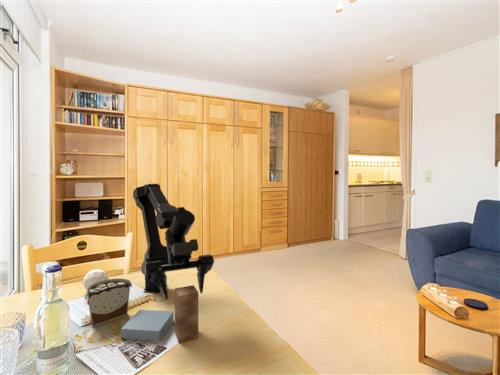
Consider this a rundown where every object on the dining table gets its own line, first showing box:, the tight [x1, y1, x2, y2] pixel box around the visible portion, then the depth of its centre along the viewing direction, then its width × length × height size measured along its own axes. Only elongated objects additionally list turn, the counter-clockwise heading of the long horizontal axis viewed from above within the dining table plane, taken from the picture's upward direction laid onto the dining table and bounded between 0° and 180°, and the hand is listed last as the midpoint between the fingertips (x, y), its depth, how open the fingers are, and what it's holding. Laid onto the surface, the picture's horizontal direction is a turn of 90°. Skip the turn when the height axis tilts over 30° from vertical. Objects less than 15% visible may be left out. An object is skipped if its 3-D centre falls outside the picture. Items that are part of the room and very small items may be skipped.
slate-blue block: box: [120, 309, 175, 341], centre depth 75 cm, size 10×10×3 cm
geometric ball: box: [82, 268, 109, 291], centre depth 99 cm, size 8×8×8 cm
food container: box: [84, 278, 133, 327], centre depth 81 cm, size 12×6×10 cm, turn 134°
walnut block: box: [174, 284, 199, 344], centre depth 72 cm, size 5×5×12 cm
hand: (184, 295), depth 74 cm, fingers open, 9 cm apart
